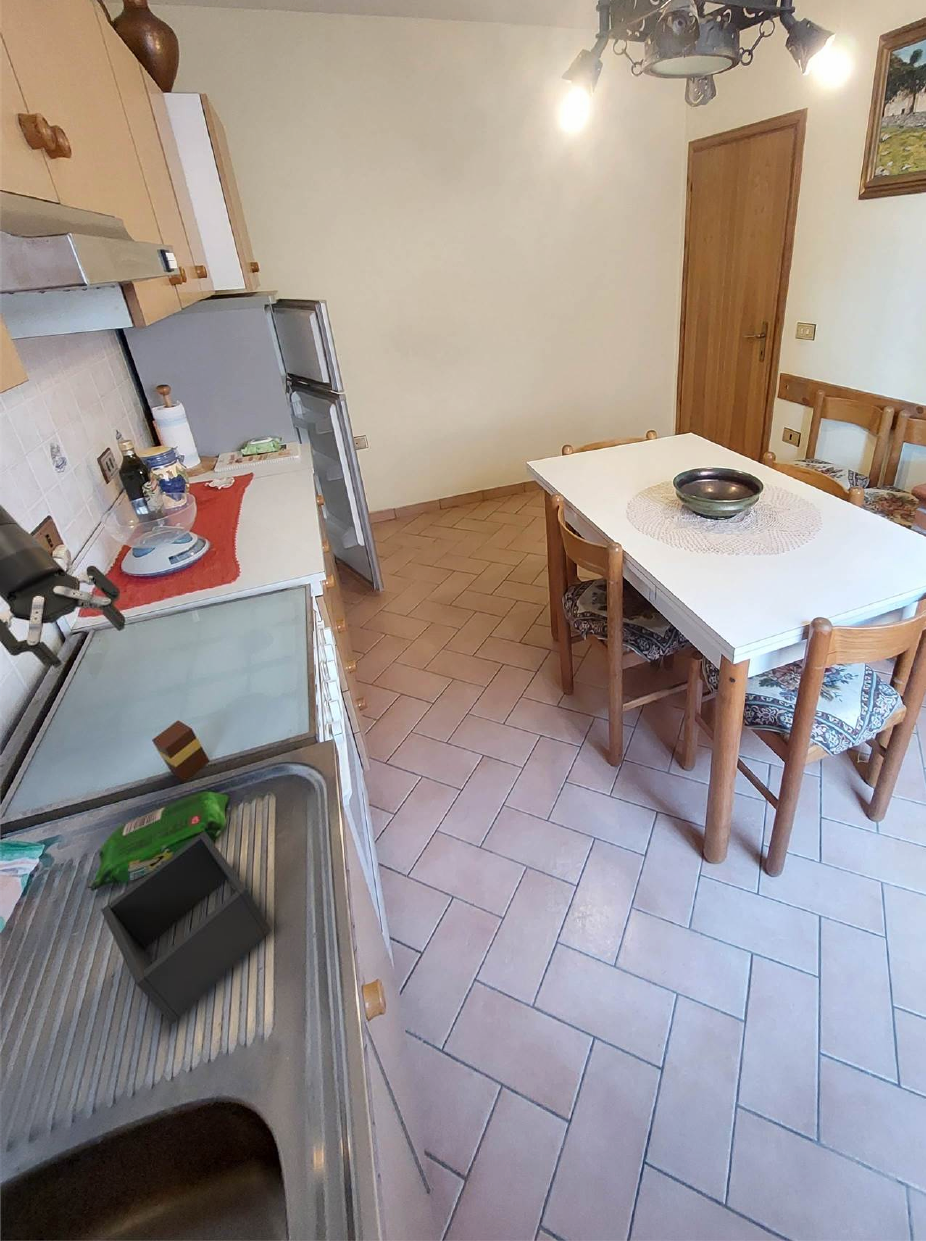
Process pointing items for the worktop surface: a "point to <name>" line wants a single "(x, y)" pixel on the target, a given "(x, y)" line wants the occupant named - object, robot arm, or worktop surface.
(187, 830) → the snack package
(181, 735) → the brown yellow banded block
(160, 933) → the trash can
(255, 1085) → the worktop surface
